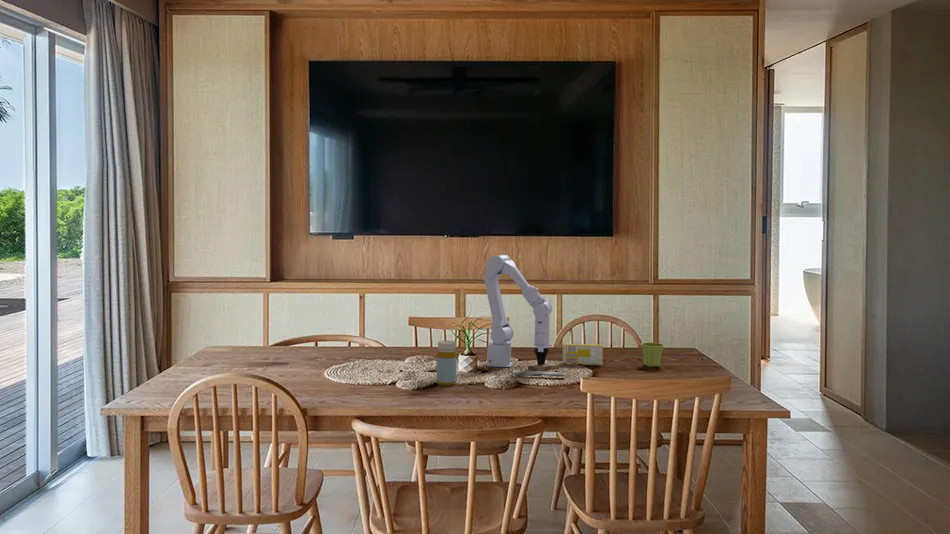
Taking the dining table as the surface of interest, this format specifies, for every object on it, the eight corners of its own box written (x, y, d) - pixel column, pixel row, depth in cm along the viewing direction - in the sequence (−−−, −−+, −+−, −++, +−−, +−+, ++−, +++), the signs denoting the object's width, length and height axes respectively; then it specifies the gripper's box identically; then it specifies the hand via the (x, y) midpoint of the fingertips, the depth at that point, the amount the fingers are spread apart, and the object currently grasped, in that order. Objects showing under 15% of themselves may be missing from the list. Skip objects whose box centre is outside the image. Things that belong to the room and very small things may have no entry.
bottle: (448, 387, 279) (449, 344, 277) (432, 384, 282) (433, 342, 281) (459, 383, 284) (460, 341, 283) (443, 380, 288) (444, 339, 287)
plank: (534, 375, 302) (534, 367, 302) (527, 373, 305) (528, 365, 305) (558, 372, 309) (558, 364, 309) (552, 370, 312) (552, 362, 312)
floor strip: (512, 376, 297) (512, 372, 297) (513, 373, 303) (513, 369, 303) (565, 379, 295) (565, 374, 295) (566, 376, 300) (566, 371, 300)
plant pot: (638, 366, 321) (638, 345, 320) (642, 362, 330) (643, 341, 329) (661, 368, 317) (662, 347, 317) (665, 364, 326) (666, 343, 325)
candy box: (602, 364, 324) (602, 344, 323) (602, 365, 322) (603, 345, 321) (562, 363, 325) (562, 343, 325) (562, 364, 323) (562, 344, 322)
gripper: (551, 335, 302) (550, 371, 303) (552, 330, 317) (552, 363, 318) (533, 335, 303) (532, 370, 304) (535, 329, 317) (534, 362, 319)
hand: (541, 367), depth 311 cm, fingers closed
